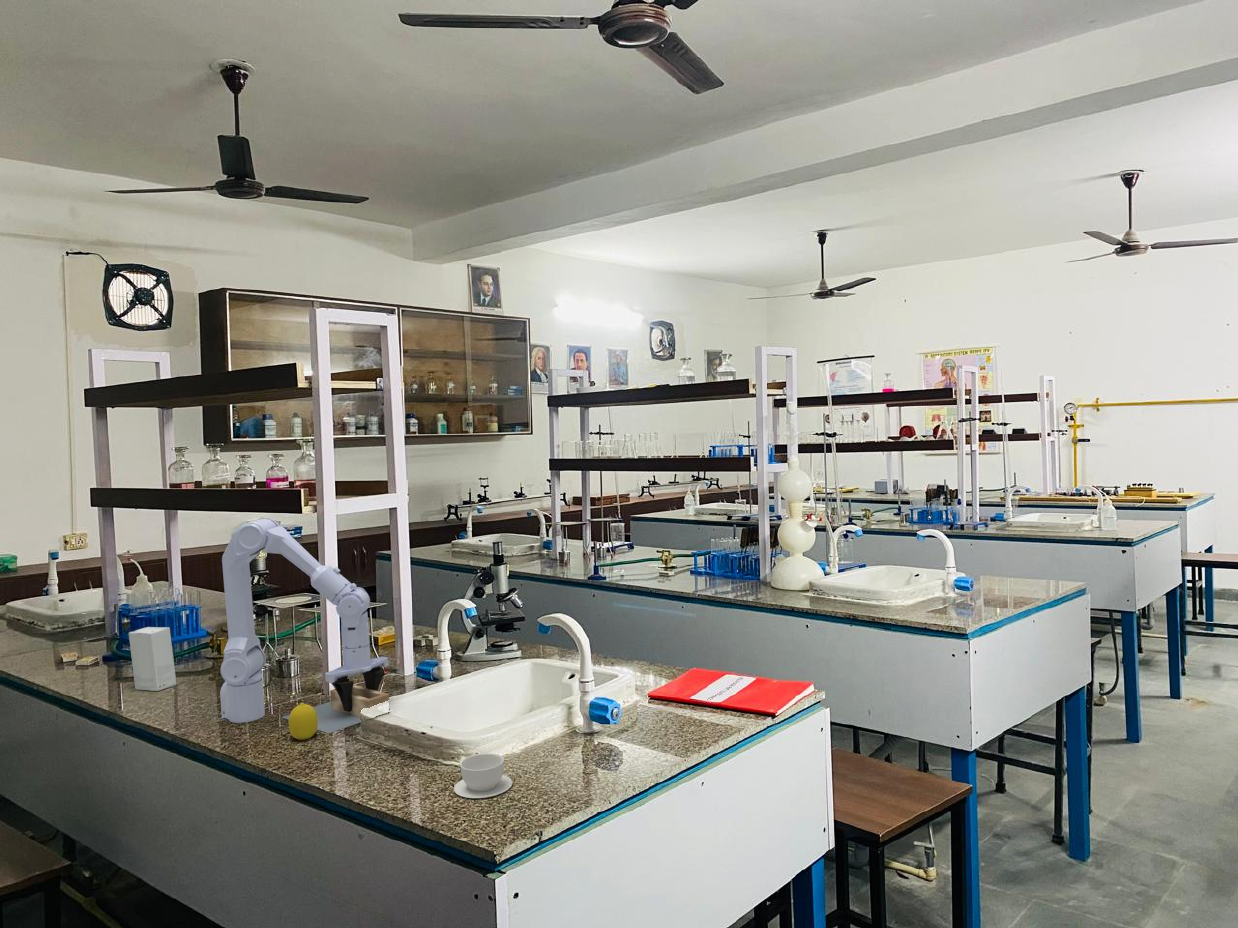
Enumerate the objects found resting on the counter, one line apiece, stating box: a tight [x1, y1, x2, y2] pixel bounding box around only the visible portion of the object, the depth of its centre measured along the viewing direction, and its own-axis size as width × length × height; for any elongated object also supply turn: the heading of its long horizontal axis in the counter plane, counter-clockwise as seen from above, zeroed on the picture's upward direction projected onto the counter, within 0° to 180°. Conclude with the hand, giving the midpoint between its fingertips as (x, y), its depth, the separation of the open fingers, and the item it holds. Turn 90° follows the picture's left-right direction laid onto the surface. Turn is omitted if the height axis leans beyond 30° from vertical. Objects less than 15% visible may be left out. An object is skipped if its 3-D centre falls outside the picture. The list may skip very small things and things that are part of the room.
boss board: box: [281, 701, 362, 734], centre depth 187 cm, size 18×16×4 cm
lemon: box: [288, 702, 318, 741], centre depth 173 cm, size 6×6×8 cm
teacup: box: [453, 752, 514, 799], centre depth 148 cm, size 10×10×5 cm
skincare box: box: [128, 626, 177, 692], centre depth 217 cm, size 8×6×15 cm
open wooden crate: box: [329, 684, 390, 717], centre depth 189 cm, size 14×5×4 cm, turn 51°
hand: (359, 706), depth 189 cm, fingers closed on open wooden crate, 5 cm apart
